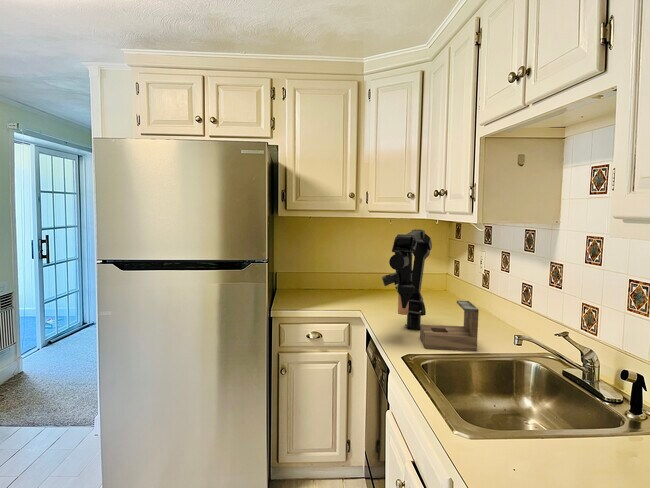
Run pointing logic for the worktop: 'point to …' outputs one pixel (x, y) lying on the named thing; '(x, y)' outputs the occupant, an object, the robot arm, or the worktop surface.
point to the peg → (401, 310)
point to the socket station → (453, 332)
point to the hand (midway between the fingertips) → (403, 307)
